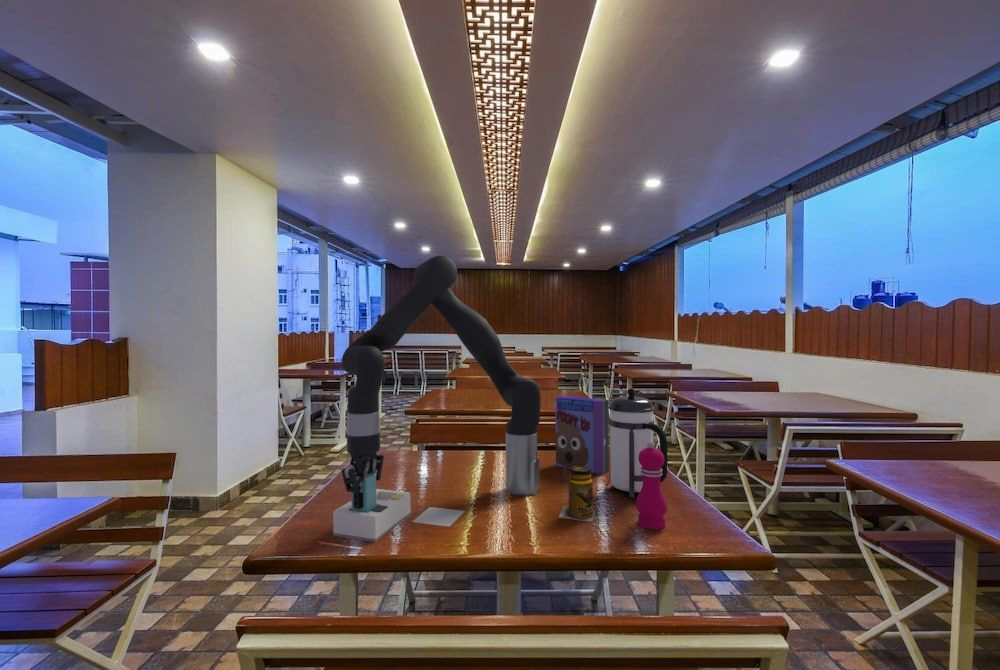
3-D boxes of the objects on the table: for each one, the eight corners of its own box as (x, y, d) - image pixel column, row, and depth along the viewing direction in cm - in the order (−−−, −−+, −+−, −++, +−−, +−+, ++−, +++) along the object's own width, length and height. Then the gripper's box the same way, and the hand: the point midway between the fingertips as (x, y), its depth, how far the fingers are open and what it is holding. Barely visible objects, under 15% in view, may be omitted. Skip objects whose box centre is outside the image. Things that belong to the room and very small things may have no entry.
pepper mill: (663, 533, 107) (663, 446, 107) (632, 526, 111) (631, 442, 111) (670, 522, 113) (670, 440, 113) (640, 516, 117) (640, 436, 117)
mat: (464, 512, 120) (464, 511, 120) (449, 528, 110) (449, 526, 110) (429, 508, 123) (429, 506, 123) (411, 523, 113) (411, 521, 113)
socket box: (410, 516, 118) (410, 491, 118) (375, 543, 103) (375, 515, 102) (372, 511, 121) (372, 487, 121) (333, 537, 106) (333, 509, 106)
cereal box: (555, 466, 161) (555, 397, 160) (562, 463, 164) (561, 395, 164) (603, 474, 151) (603, 401, 150) (608, 471, 154) (608, 399, 154)
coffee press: (601, 498, 129) (601, 391, 129) (608, 480, 144) (608, 384, 144) (667, 505, 124) (667, 393, 123) (667, 486, 139) (667, 386, 138)
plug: (376, 515, 109) (376, 473, 109) (366, 522, 105) (366, 478, 105) (361, 514, 110) (361, 472, 110) (351, 520, 107) (351, 477, 107)
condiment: (592, 522, 113) (592, 473, 113) (558, 518, 116) (558, 470, 116) (595, 511, 120) (595, 465, 120) (563, 507, 123) (563, 462, 123)
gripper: (359, 439, 100) (360, 518, 100) (393, 426, 114) (394, 496, 114) (330, 436, 102) (331, 514, 102) (367, 424, 116) (367, 493, 116)
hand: (364, 504), depth 108 cm, fingers closed on plug, 3 cm apart
